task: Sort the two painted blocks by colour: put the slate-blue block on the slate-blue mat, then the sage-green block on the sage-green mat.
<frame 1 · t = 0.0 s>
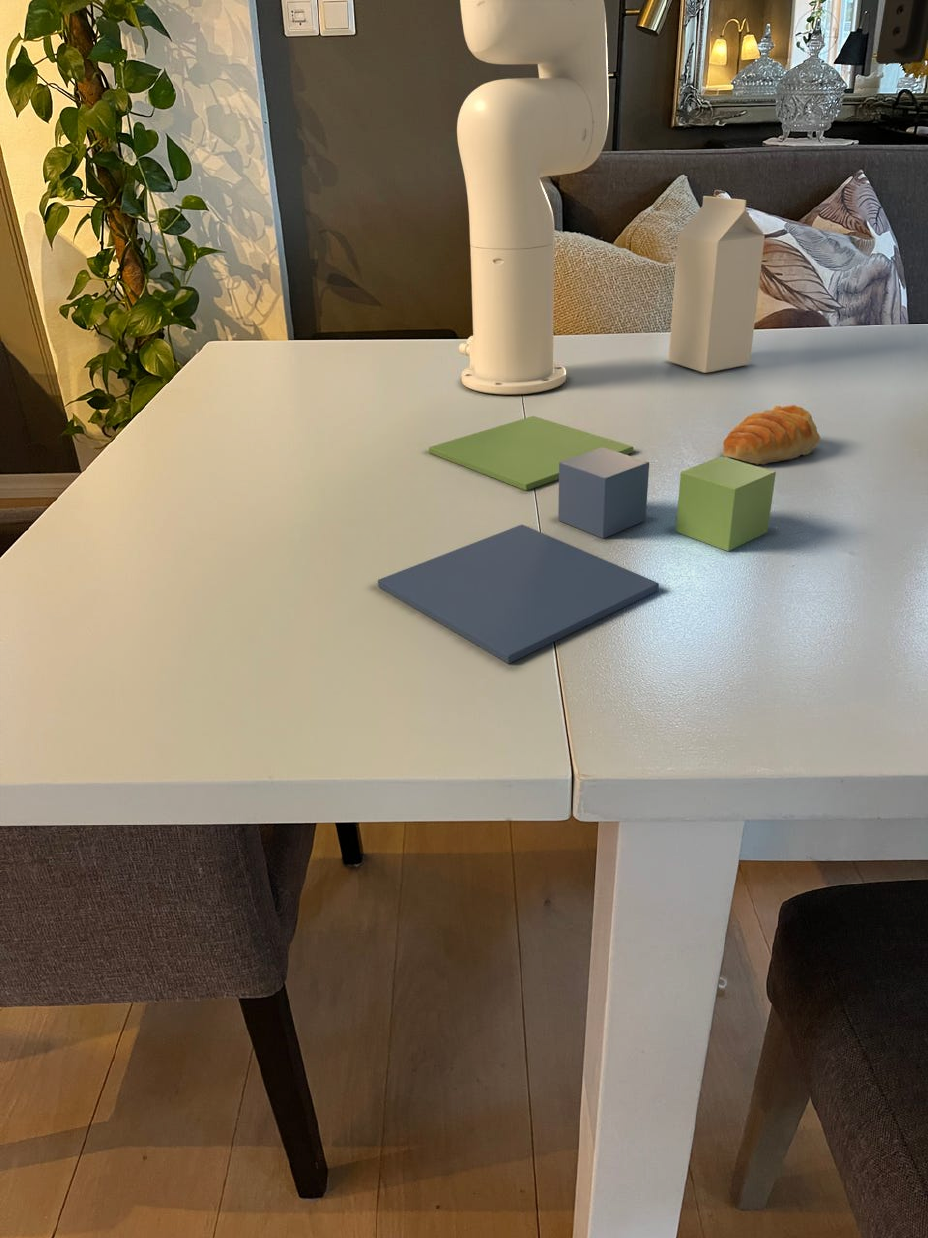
milk carton: (708, 365, 115), on the table
blue block: (601, 520, 75), on the table
green mat: (529, 452, 89), on the table
pastry: (769, 454, 87), on the table
blue mat: (516, 588, 65), on the table
green block: (721, 532, 72), on the table
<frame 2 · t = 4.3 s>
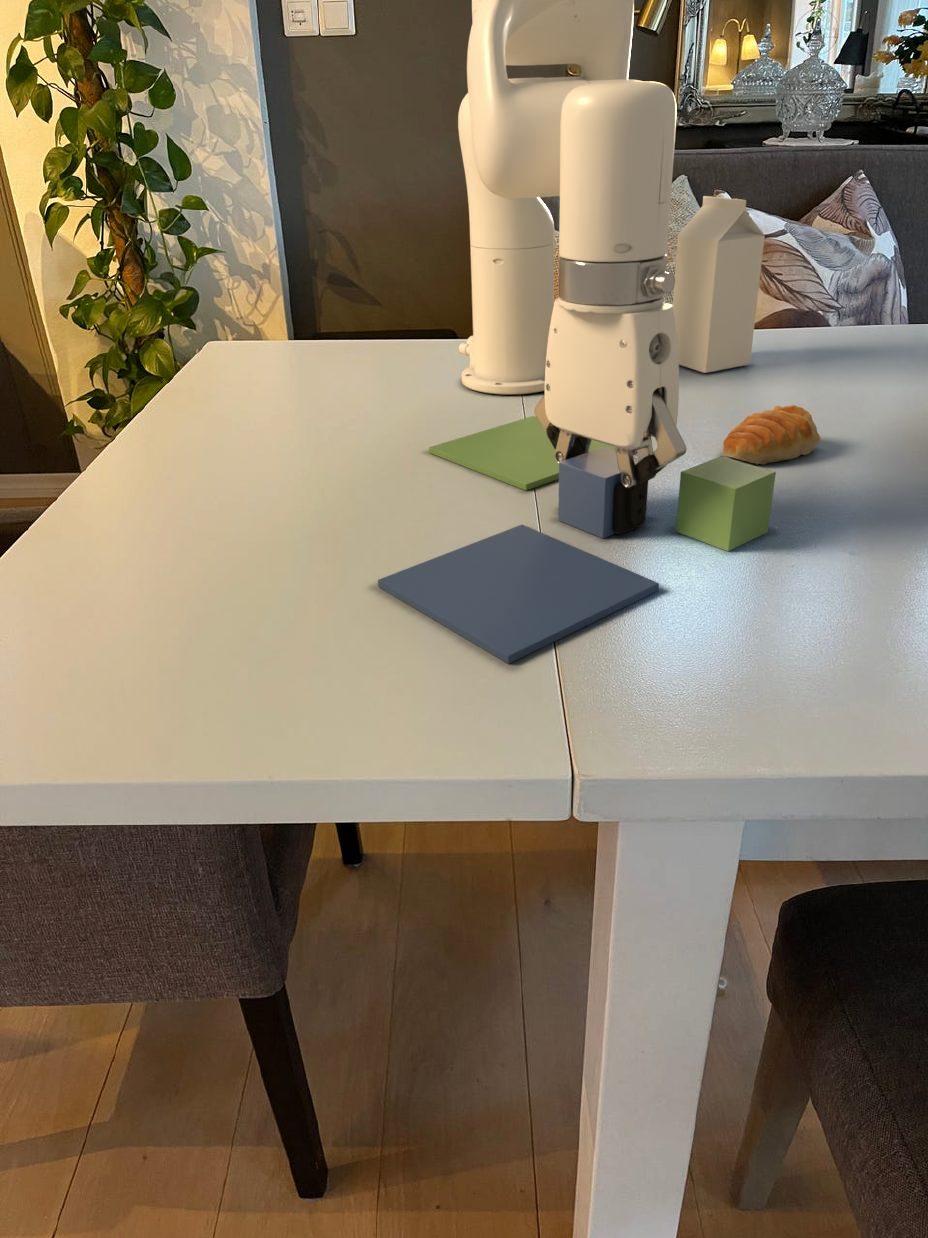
hand: (601, 515, 74), 0 cm above the table, tool pointing down, fingers closed on blue block, 5 cm apart
blue block: (601, 520, 75), on the table, touching gripper
everything else where it was.
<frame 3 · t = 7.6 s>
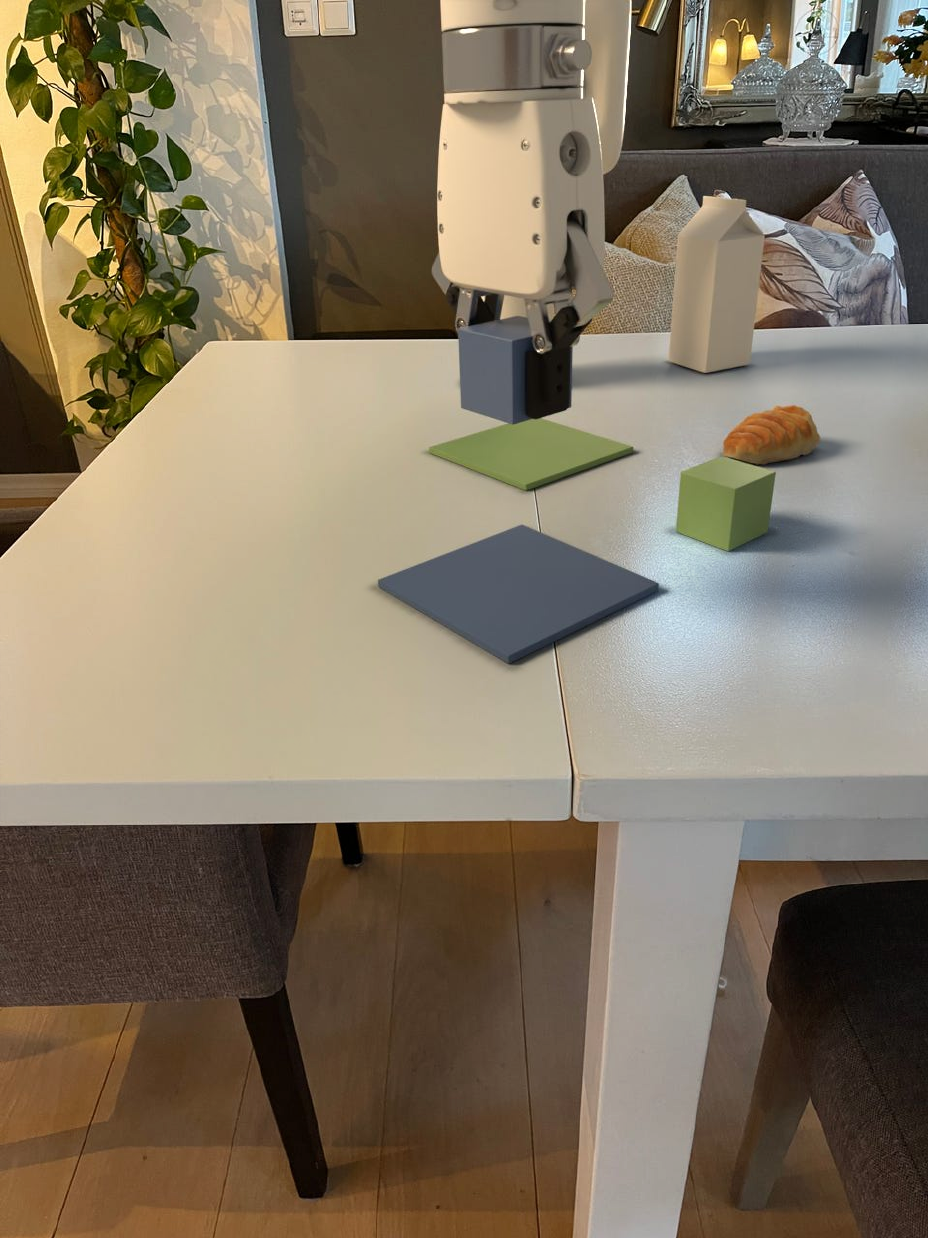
hand: (515, 401, 58), 13 cm above the table, tool pointing down, fingers closed on blue block, 5 cm apart
blue block: (515, 407, 58), point 13 cm above the table, touching gripper
everything else where it was.
when the fingers open (1 cm above the table, at t = 10.8 s): blue block stays where it is, resting on blue mat.
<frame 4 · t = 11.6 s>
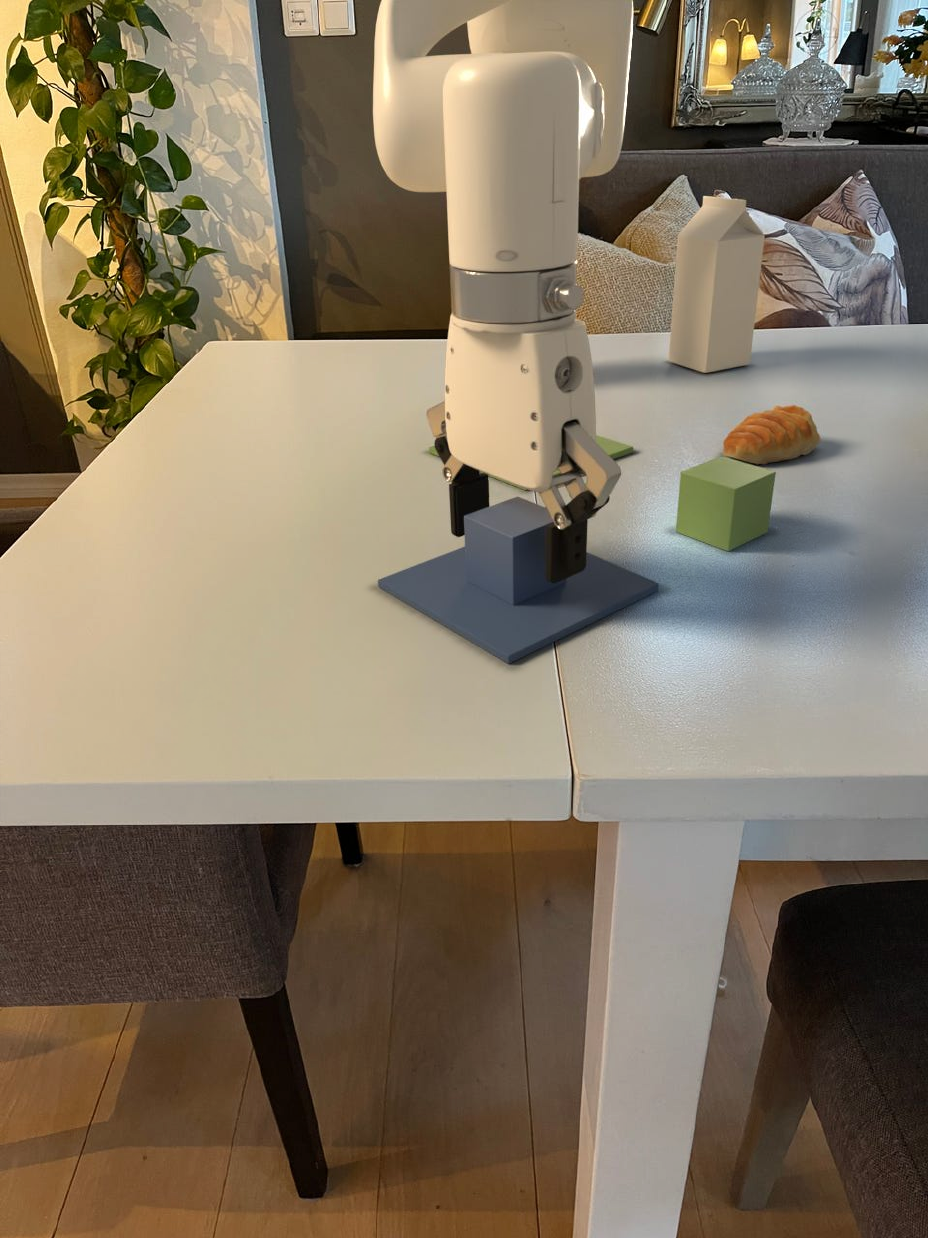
hand: (515, 552, 64), 3 cm above the table, tool pointing down, fingers open, 9 cm apart
blue block: (516, 581, 65), point 1 cm above the table, touching blue mat
everything else where it was.
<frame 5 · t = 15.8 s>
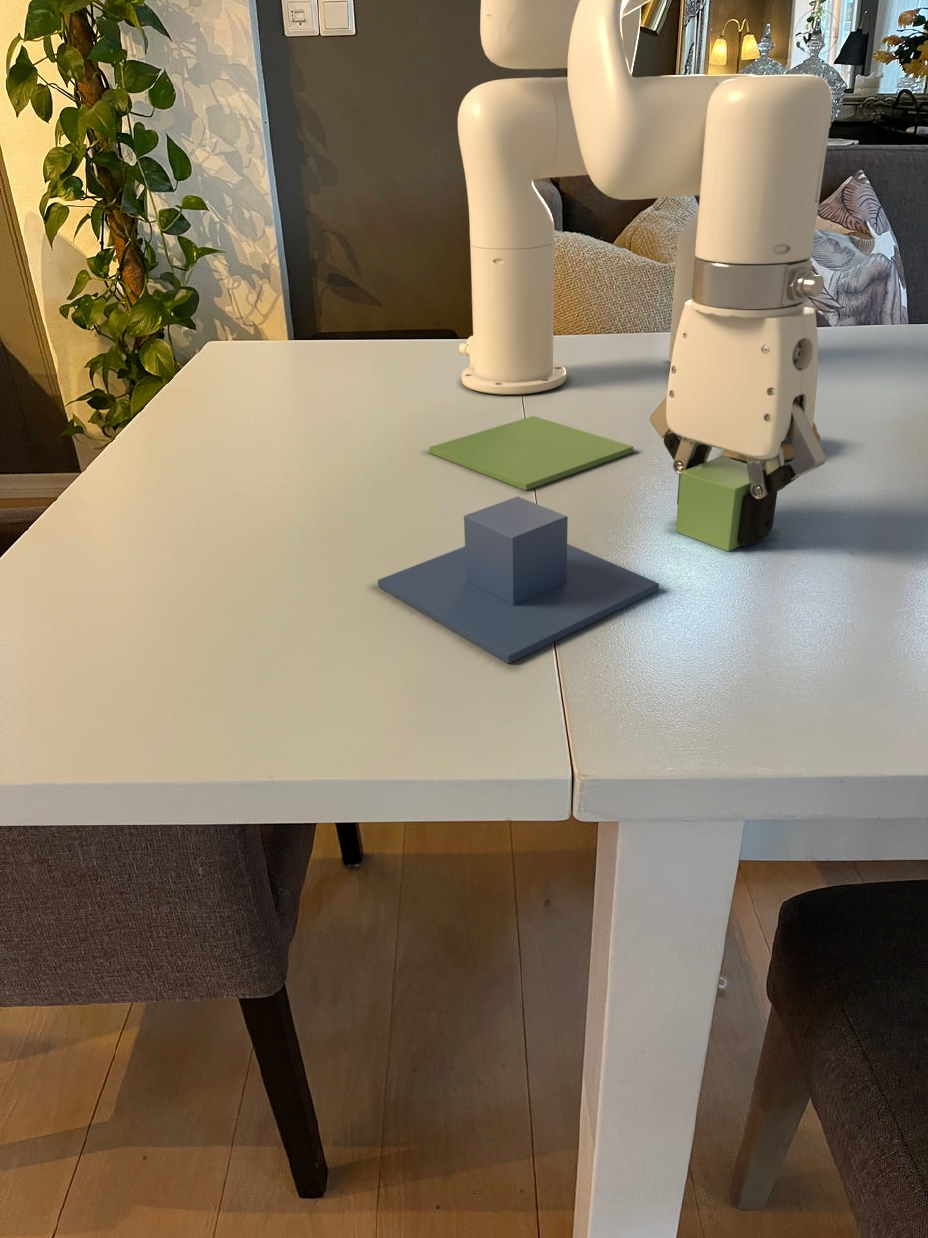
hand: (721, 527, 72), 0 cm above the table, tool pointing down, fingers closed on green block, 5 cm apart
green block: (721, 532, 72), on the table, touching gripper
everything else where it was.
when the fingers open (1 cm above the table, at t = 22.9 s): green block stays where it is, resting on green mat.
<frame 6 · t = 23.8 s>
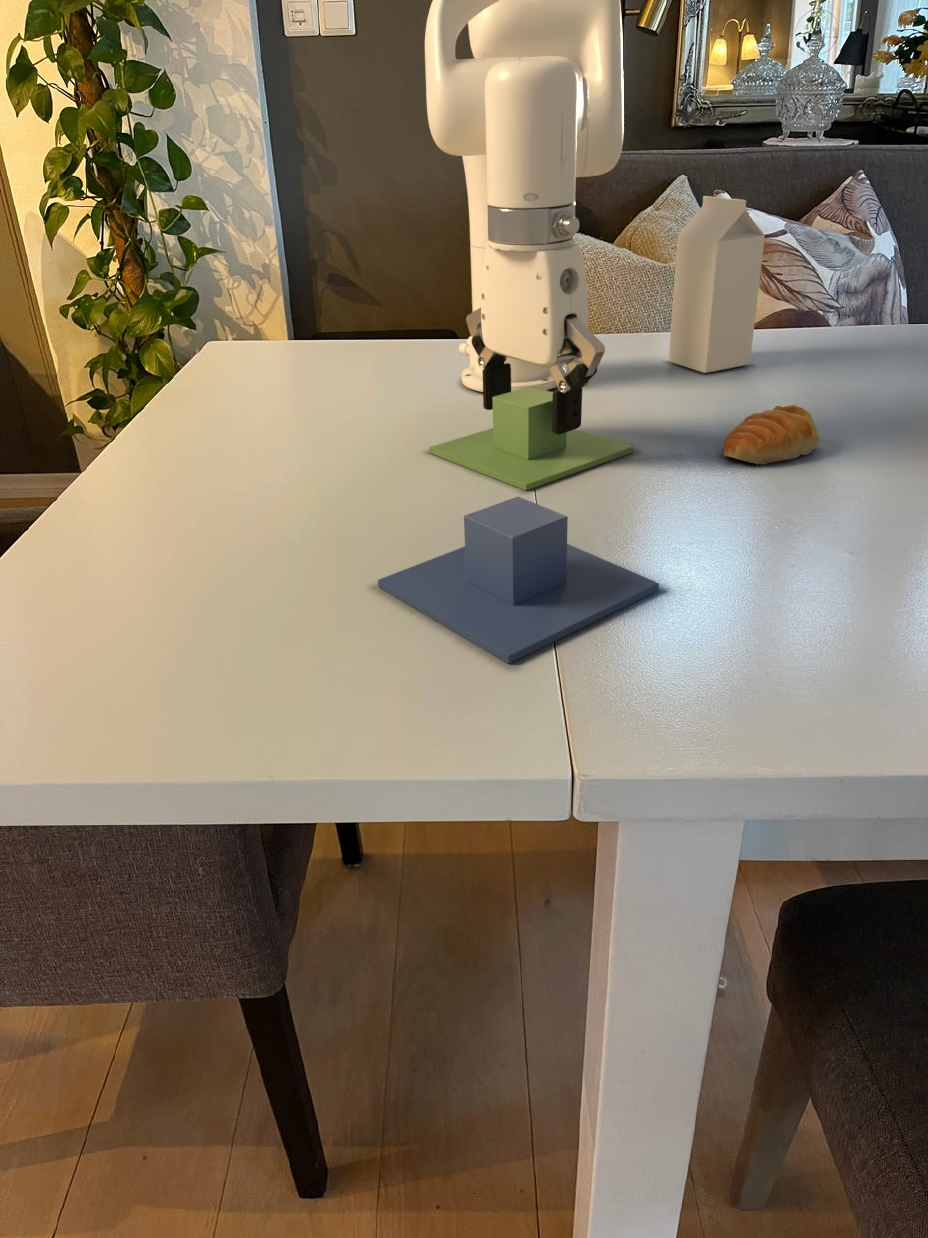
hand: (530, 418, 88), 3 cm above the table, tool pointing down, fingers open, 9 cm apart
green block: (529, 447, 89), point 1 cm above the table, touching green mat
everything else where it was.
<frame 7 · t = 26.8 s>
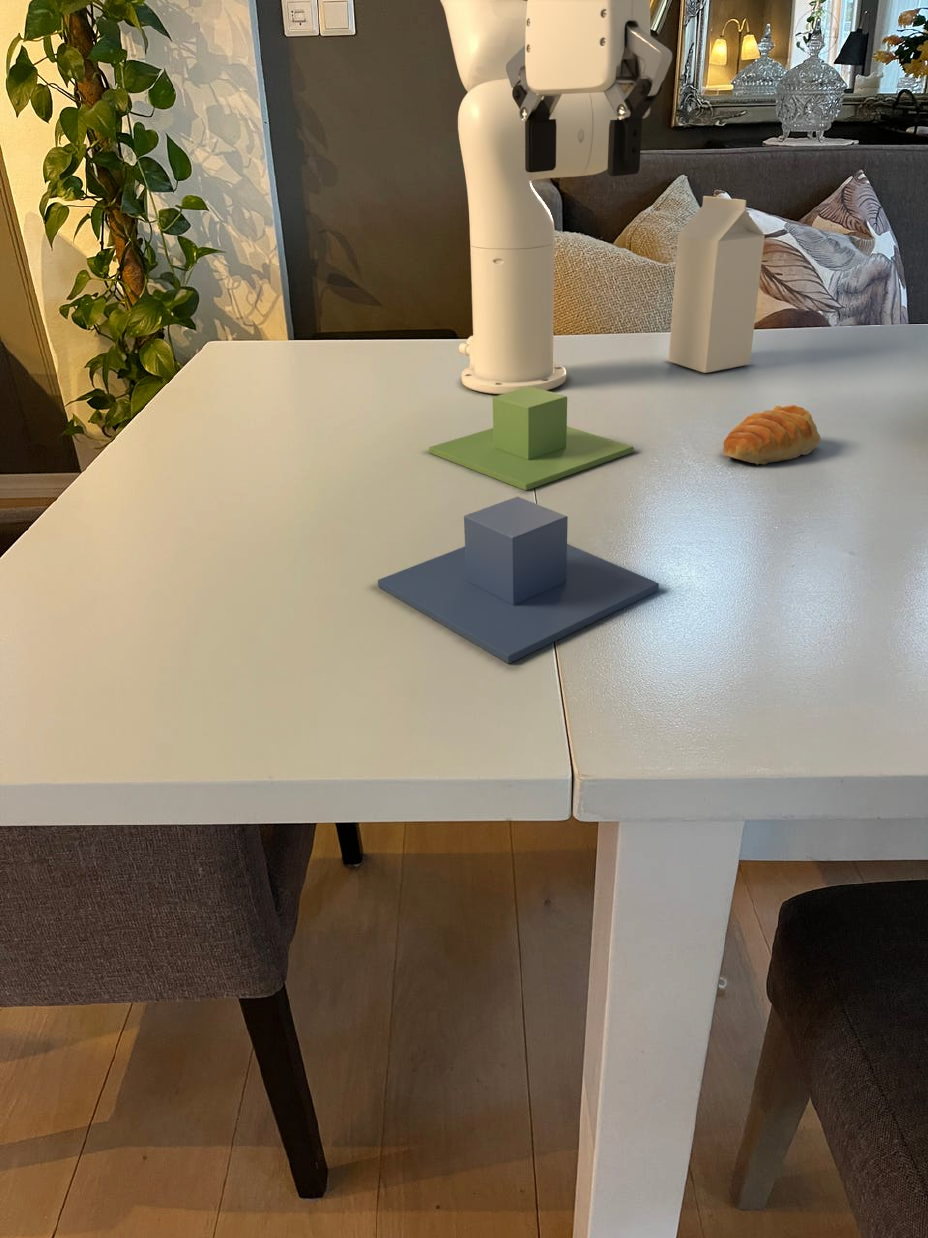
hand: (580, 172, 78), 24 cm above the table, tool pointing down, fingers open, 9 cm apart
nothing on the table moved.
at the end: blue block inside the target area on the blue mat (0.0 cm from its centre), point 0.6 cm above the blue mat's base; green block inside the target area on the green mat (0.3 cm from its centre), point 0.6 cm above the green mat's base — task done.
